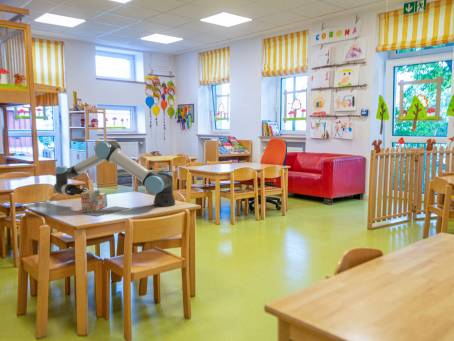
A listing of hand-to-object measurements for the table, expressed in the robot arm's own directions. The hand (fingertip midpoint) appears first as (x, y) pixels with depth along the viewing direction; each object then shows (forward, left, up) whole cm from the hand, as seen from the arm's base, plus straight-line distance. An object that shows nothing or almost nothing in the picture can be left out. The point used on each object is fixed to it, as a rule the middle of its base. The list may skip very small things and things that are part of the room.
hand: (89, 192), depth 272 cm
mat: (-15, 0, -11) cm, 18 cm away
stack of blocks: (-4, 0, -11) cm, 12 cm away
